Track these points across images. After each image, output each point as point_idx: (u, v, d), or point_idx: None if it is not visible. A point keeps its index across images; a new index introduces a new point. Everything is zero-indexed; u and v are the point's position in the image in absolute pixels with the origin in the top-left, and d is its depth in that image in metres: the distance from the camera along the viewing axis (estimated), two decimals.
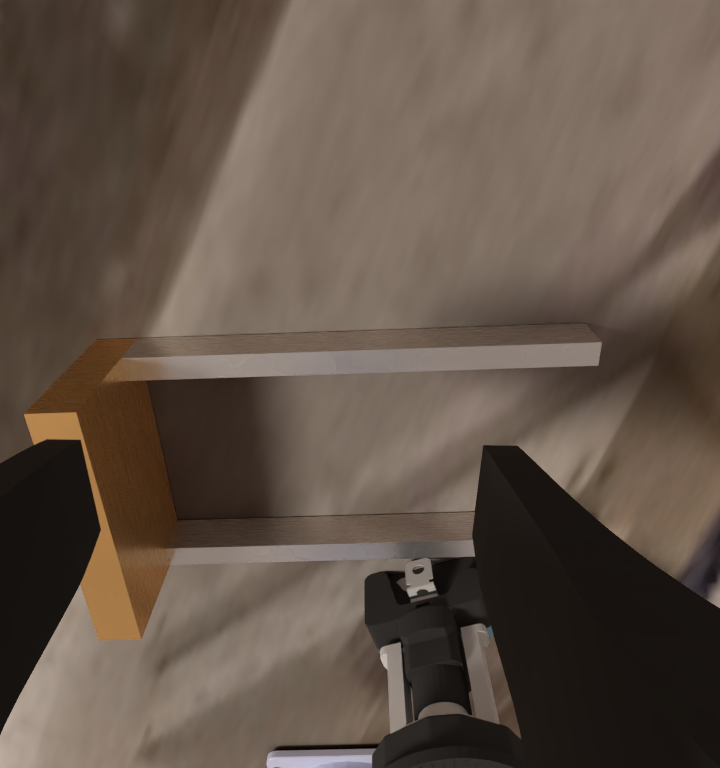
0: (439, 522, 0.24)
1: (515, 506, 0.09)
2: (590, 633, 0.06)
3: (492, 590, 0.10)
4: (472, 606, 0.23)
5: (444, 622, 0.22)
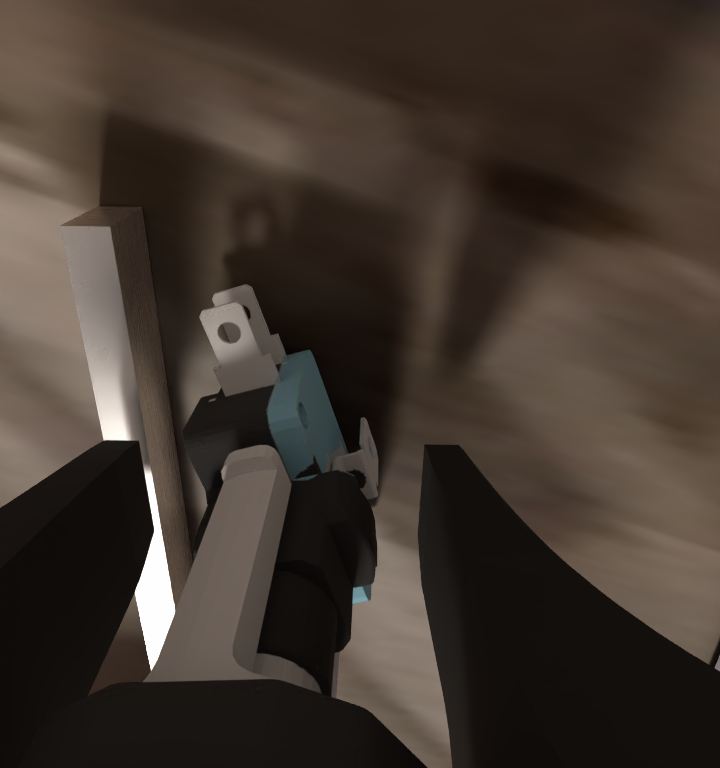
0: None
1: (444, 504, 0.09)
2: (490, 632, 0.06)
3: (430, 589, 0.10)
4: (204, 459, 0.11)
5: (196, 538, 0.10)
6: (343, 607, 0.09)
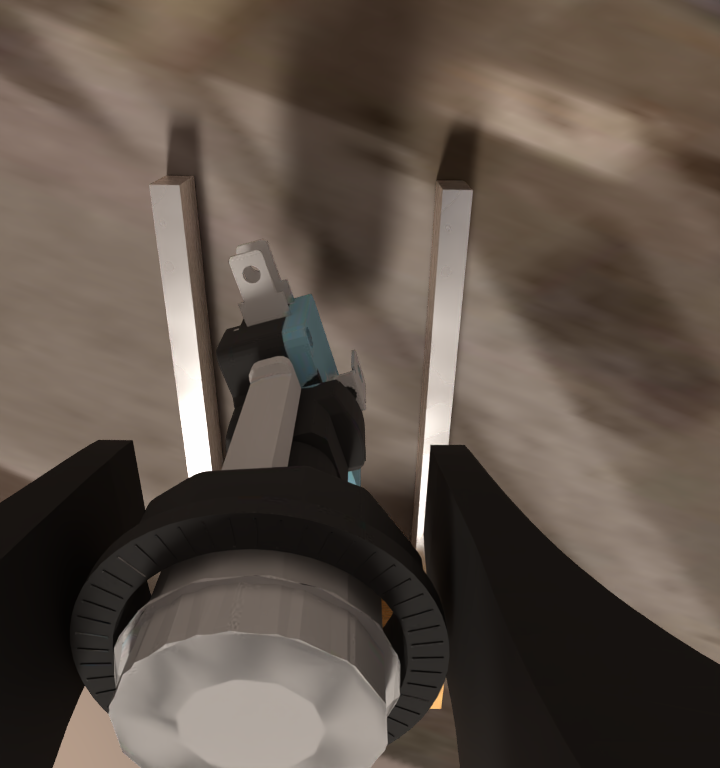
0: (427, 338, 0.19)
1: (451, 504, 0.09)
2: (500, 632, 0.06)
3: (436, 589, 0.10)
4: (233, 371, 0.14)
5: (227, 431, 0.14)
6: (341, 474, 0.13)
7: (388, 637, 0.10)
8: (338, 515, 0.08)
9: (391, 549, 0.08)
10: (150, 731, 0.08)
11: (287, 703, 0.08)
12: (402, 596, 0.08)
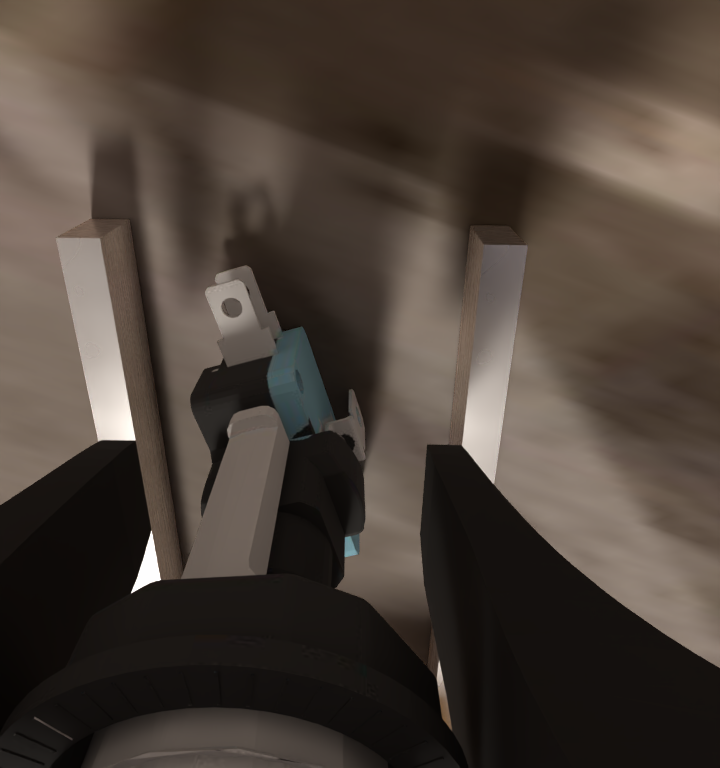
0: (453, 435, 0.14)
1: (447, 505, 0.09)
2: (495, 632, 0.06)
3: (432, 589, 0.10)
4: (210, 421, 0.12)
5: (203, 492, 0.12)
6: (337, 548, 0.11)
7: None
8: (329, 659, 0.06)
9: (401, 702, 0.06)
10: None
11: None
12: (415, 760, 0.06)
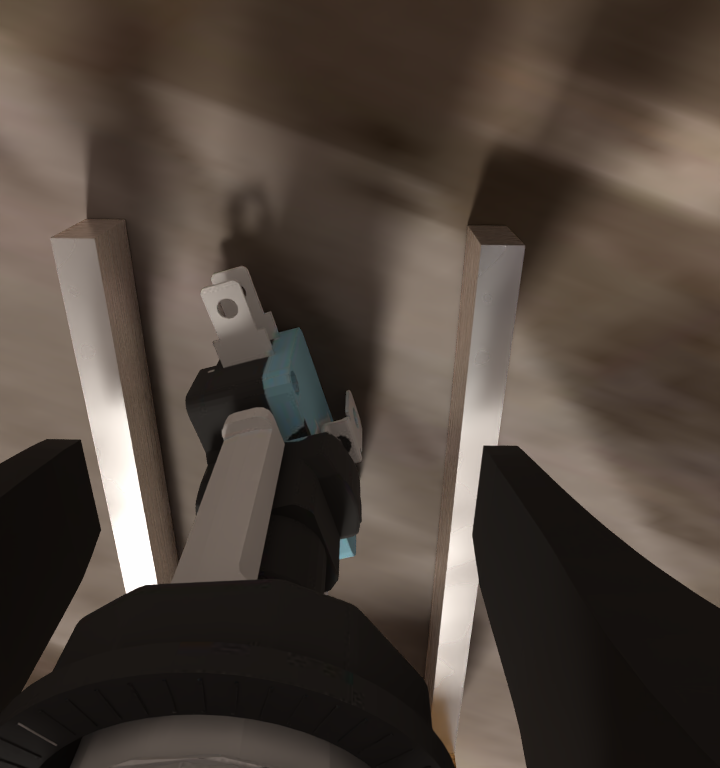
0: (451, 436, 0.14)
1: (515, 506, 0.09)
2: (590, 633, 0.06)
3: (492, 590, 0.10)
4: (205, 422, 0.12)
5: (198, 494, 0.11)
6: (331, 550, 0.11)
7: None
8: (315, 668, 0.06)
9: (388, 710, 0.06)
10: None
11: None
12: None
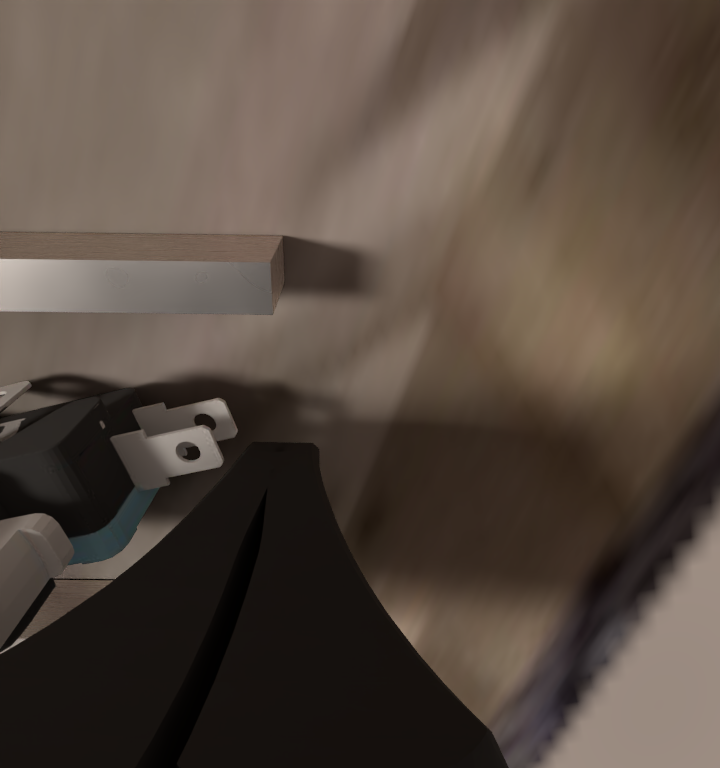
0: (76, 599, 0.13)
1: (267, 502, 0.09)
2: None
3: None
4: (33, 470, 0.09)
5: None
6: None
7: None
8: None
9: None
10: None
11: None
12: None
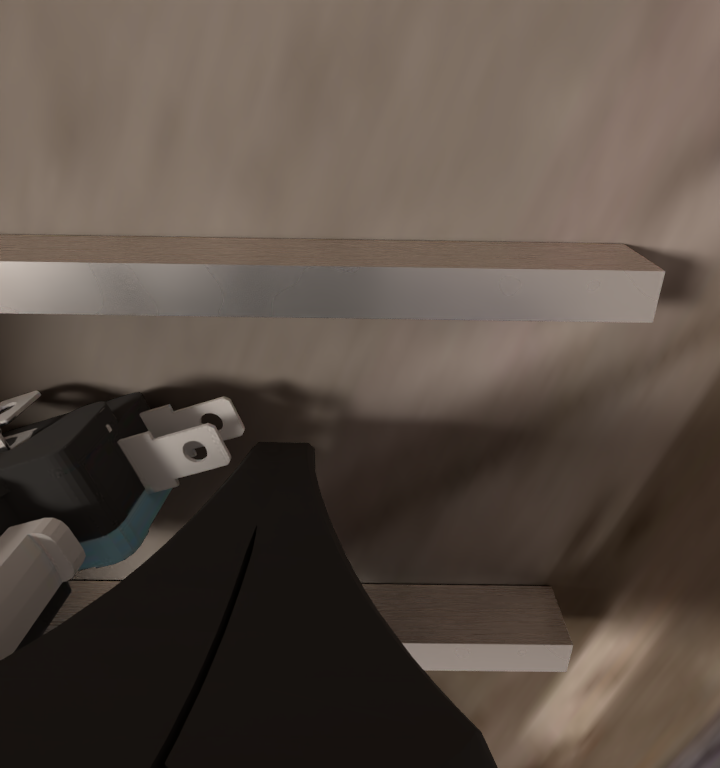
0: None
1: (262, 502, 0.09)
2: None
3: None
4: (41, 475, 0.09)
5: None
6: None
7: None
8: None
9: None
10: None
11: None
12: None
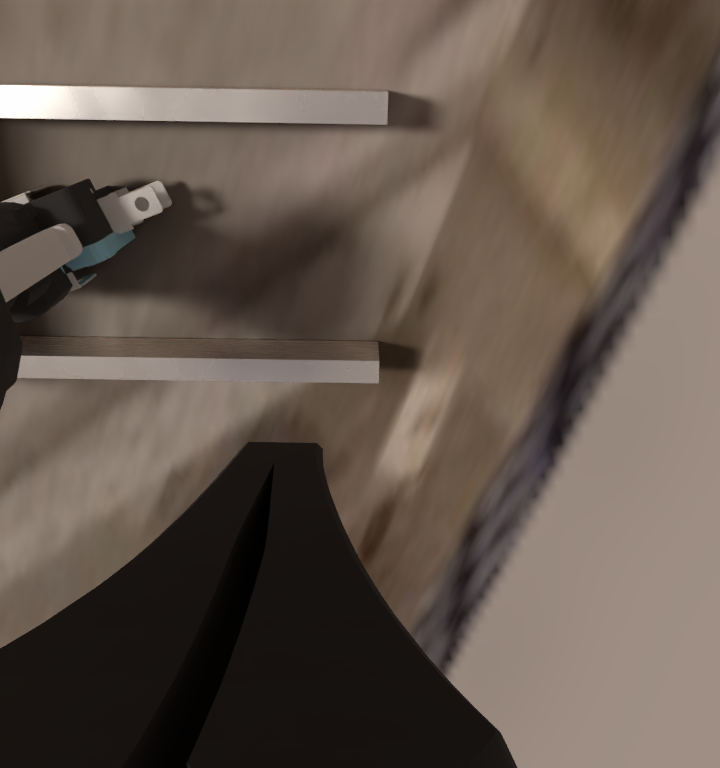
0: (237, 345, 0.21)
1: (272, 503, 0.09)
2: None
3: None
4: (56, 203, 0.16)
5: (0, 208, 0.16)
6: None
7: None
8: (4, 389, 0.12)
9: None
10: None
11: None
12: None
